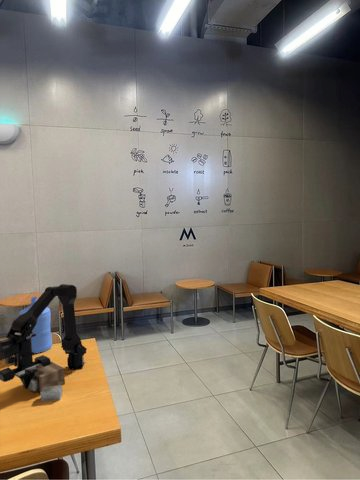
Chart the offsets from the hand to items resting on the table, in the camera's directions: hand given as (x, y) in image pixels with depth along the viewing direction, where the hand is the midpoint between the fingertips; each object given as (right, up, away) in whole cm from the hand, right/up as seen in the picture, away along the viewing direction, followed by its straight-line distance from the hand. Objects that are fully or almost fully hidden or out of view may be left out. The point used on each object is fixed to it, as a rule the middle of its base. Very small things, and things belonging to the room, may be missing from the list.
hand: (26, 388), depth 132 cm
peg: (+3, -1, +4) cm, 5 cm away
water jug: (-16, 0, +47) cm, 50 cm away
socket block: (+4, -2, +8) cm, 9 cm away
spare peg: (+11, -3, -3) cm, 12 cm away
